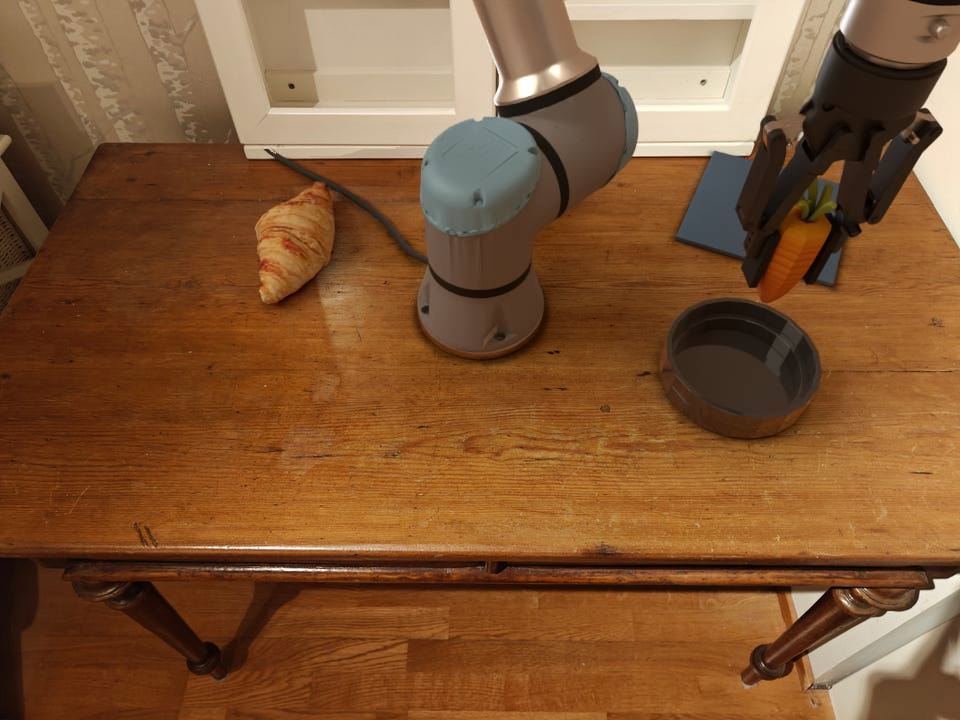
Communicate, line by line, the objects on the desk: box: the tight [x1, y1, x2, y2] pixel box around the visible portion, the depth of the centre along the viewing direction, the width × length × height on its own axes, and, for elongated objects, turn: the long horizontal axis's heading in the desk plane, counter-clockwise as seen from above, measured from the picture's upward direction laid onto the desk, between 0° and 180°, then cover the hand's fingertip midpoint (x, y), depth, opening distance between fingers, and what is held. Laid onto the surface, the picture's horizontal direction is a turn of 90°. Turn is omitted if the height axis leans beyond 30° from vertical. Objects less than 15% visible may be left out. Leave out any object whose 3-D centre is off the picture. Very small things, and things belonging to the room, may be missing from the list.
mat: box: [675, 150, 843, 288], centre depth 95 cm, size 20×20×1 cm
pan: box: [658, 296, 823, 440], centre depth 77 cm, size 16×16×4 cm
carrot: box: [756, 176, 837, 304], centre depth 64 cm, size 5×5×15 cm
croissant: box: [254, 181, 336, 305], centre depth 89 cm, size 21×10×8 cm, turn 170°
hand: (777, 275), depth 67 cm, fingers closed on carrot, 5 cm apart
